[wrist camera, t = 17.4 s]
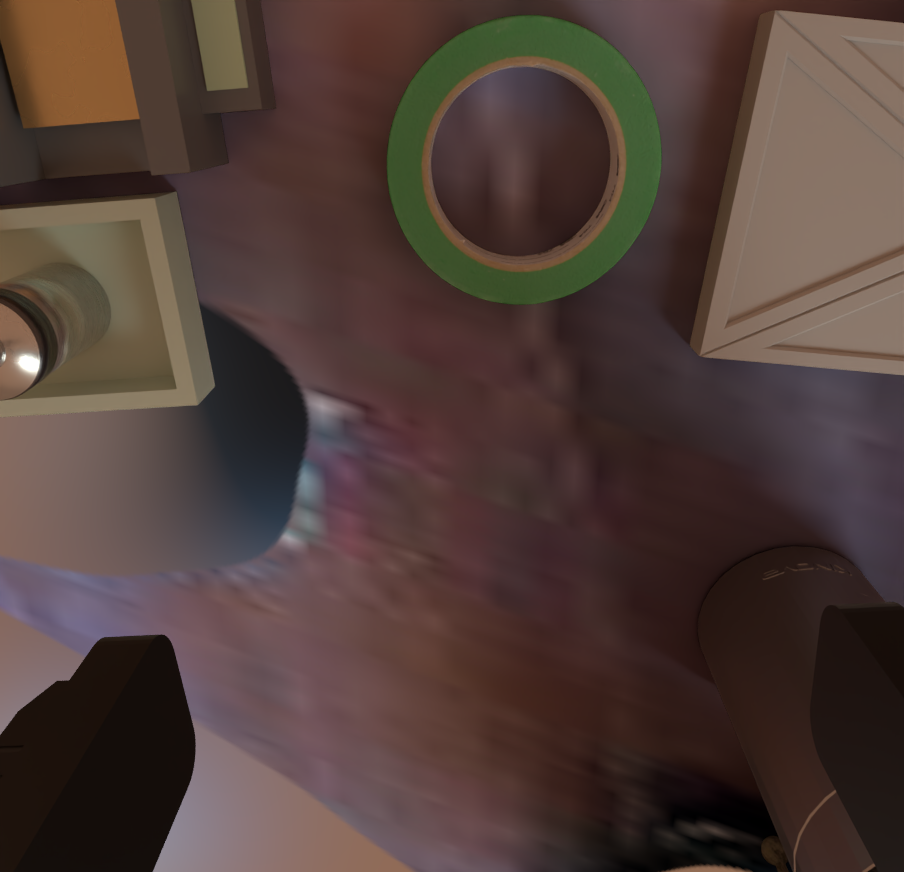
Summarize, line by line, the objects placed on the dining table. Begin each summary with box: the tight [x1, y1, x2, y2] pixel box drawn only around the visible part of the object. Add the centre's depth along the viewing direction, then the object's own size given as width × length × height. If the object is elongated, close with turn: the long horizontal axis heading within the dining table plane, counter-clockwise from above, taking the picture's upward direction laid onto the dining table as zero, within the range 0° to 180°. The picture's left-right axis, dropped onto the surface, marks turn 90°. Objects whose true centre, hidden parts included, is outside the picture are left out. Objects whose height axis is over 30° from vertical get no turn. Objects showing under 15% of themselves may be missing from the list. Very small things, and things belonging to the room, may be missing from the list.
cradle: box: [0, 0, 276, 187], centre depth 31 cm, size 10×11×5 cm
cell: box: [0, 262, 111, 401], centre depth 33 cm, size 4×4×8 cm
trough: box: [0, 192, 215, 417], centre depth 36 cm, size 9×14×3 cm, turn 94°
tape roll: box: [387, 15, 662, 305], centre depth 33 cm, size 11×11×3 cm
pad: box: [0, 0, 140, 128], centre depth 31 cm, size 6×5×1 cm
